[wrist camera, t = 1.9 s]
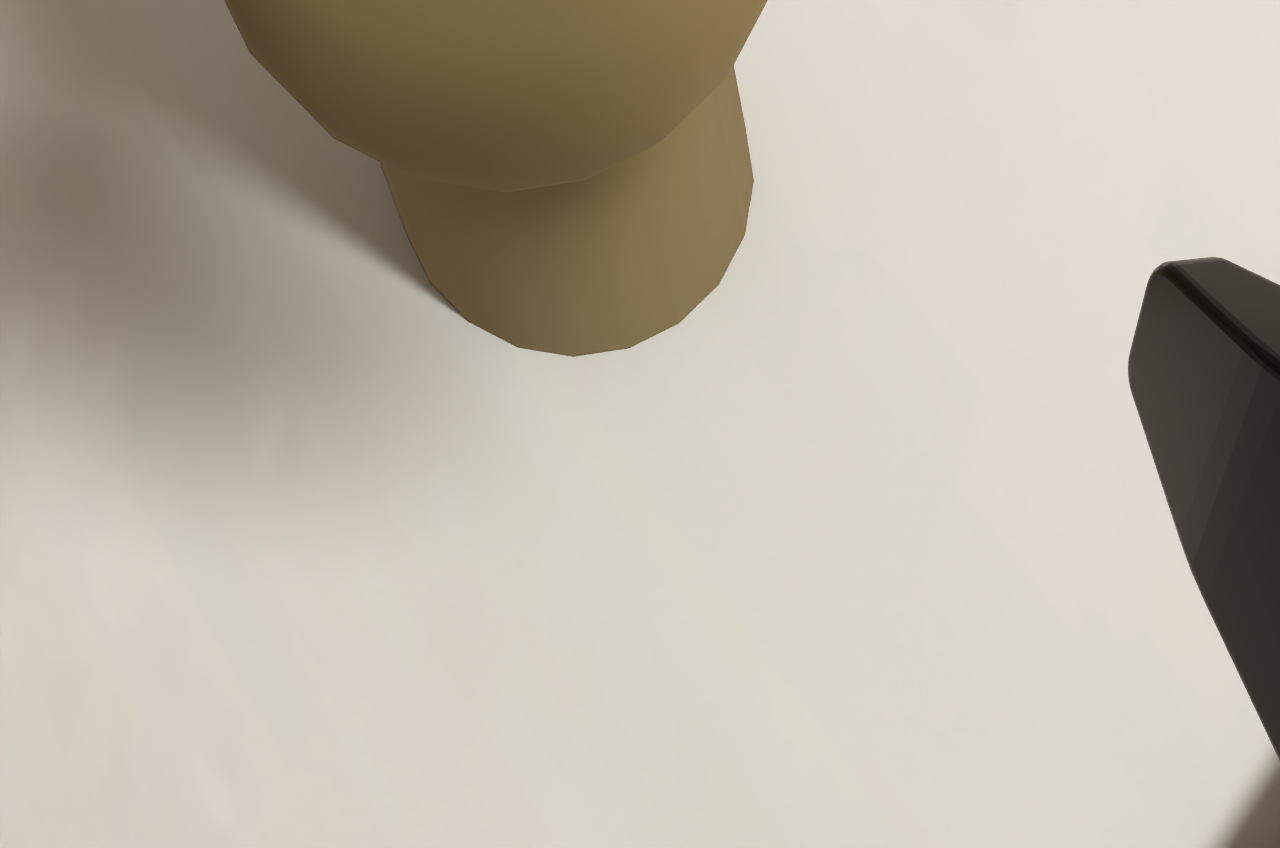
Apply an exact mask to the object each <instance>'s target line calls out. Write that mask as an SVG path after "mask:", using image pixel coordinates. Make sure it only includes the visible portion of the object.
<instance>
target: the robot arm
mask: <svg viewBox="0 0 1280 848" xmlns="http://www.w3.org/2000/svg"><path fill="white" fill-rule="evenodd" d="M1128 376H1129V383H1130V388H1131V392H1132V395H1133V398H1134V401H1135V404H1136V407H1137V410H1138V413H1139V416H1140V420H1141V423H1142V426H1143V429H1144V432H1145V435H1146V438H1147V441H1148V444H1149V447H1150V450H1151V453H1152V456H1153V459H1154V462H1155V465H1156V468H1157V471H1158V474H1159V478H1160V481H1161V484H1162V487H1163V490H1164V493H1165V496H1166V499H1167V502H1168V505H1169V508H1170V511H1171V514H1172V517H1173V520H1174V523H1175V526H1176V529H1177V532H1178V536H1179V539H1180V541H1181V544H1182V547H1183V550H1184V552H1185V555H1186V558H1187V561H1188V563H1189V566H1190V569H1191V571H1192V574H1193V576H1194V578H1195V580H1196V583H1197V585H1198V587H1199V590H1200V592H1201V594H1202V596H1203V599H1204V601H1205V603H1206V605H1207V607H1208V609H1209V611H1210V614H1211V616H1212V618H1213V620H1214V622H1215V624H1216V626H1217V628H1218V630H1219V633H1220V635H1221V637H1222V639H1223V641H1224V643H1225V645H1226V647H1227V650H1228V652H1229V654H1230V656H1231V658H1232V660H1233V662H1234V664H1235V667H1236V669H1237V671H1238V673H1239V675H1240V677H1241V679H1242V681H1243V684H1244V686H1245V688H1246V690H1247V692H1248V694H1249V696H1250V698H1251V701H1252V703H1253V705H1254V707H1255V709H1256V711H1257V713H1258V715H1259V717H1260V720H1261V722H1262V724H1263V726H1264V728H1265V730H1266V732H1267V734H1268V737H1269V739H1270V741H1271V743H1272V745H1273V747H1274V749H1275V751H1276V754H1277V756H1278V758H1279V760H1280V285H1278V284H1276V283H1274V282H1272V281H1270V280H1267V279H1265V278H1263V277H1261V276H1259V275H1257V274H1255V273H1253V272H1251V271H1249V270H1247V269H1244V268H1242V267H1240V266H1238V265H1236V264H1234V263H1232V262H1230V261H1228V260H1225V259H1223V258H1217V257H1209V258H1199V259H1189V260H1180V261H1170V262H1165V263H1163V264H1161V265H1160V266H1158V267H1157V268H1156V269H1155V270H1154V271H1153V273H1152V274H1151V276H1150V278H1149V281H1148V284H1147V287H1146V291H1145V295H1144V299H1143V303H1142V307H1141V311H1140V315H1139V319H1138V323H1137V327H1136V331H1135V335H1134V338H1133V342H1132V346H1131V350H1130V355H1129V362H1128Z"/></svg>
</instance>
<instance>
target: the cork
mask: <svg viewBox="0 0 1280 848" xmlns="http://www.w3.org/2000/svg"><path fill="white" fill-rule="evenodd" d="M225 2H226V4H227V6H228V8H229V10H230V13H231V15H232V17H233V19H234V21H235V23H236V25H237V27H238V29H239V31H240V33H241V35H242V37H243V39H244V41H245V43H246V46H247V48H248V50H249V52H250V53H251V54H252V55H253V56H254V57H255V58H256V59H257V60H258V62H259V63H260V64H261V65H262V66H263V67H264V68H265V69H266V70H267V71H268V72H269V73H270V74H271V75H272V76H273V77H274V78H275V79H276V80H277V81H278V82H279V83H280V84H281V85H282V86H283V87H284V88H285V89H286V90H287V91H288V92H289V93H290V94H291V95H292V96H293V97H294V98H295V99H296V100H297V101H298V102H299V103H300V104H301V105H302V106H303V107H304V108H305V109H306V110H307V111H308V112H309V113H310V114H311V115H312V116H313V117H314V119H315V120H316V121H317V122H318V123H319V124H320V125H321V126H322V127H323V128H324V129H325V130H326V131H327V132H328V133H329V134H330V135H331V136H332V137H333V138H335V139H337V140H339V141H341V142H343V143H345V144H347V145H349V146H351V147H353V148H355V149H356V150H358V151H360V152H362V153H364V154H366V155H368V156H370V157H372V158H374V159H376V160H378V161H379V162H380V164H381V167H382V170H383V172H384V175H385V178H386V180H387V183H388V186H389V188H390V191H391V194H392V196H393V199H394V202H395V204H396V207H397V210H398V212H399V215H400V218H401V221H402V223H403V226H404V229H405V231H406V234H407V236H408V238H409V240H410V242H411V244H412V246H413V248H414V250H415V252H416V254H417V256H418V258H419V260H420V262H421V264H422V266H423V268H424V271H425V273H426V275H427V277H428V279H429V281H430V283H431V284H432V285H433V286H434V287H435V288H436V289H437V290H438V291H439V292H440V293H441V294H442V295H443V296H444V297H445V298H446V299H447V300H448V301H449V302H450V303H451V304H452V305H453V306H454V307H455V308H456V309H457V310H458V311H459V312H460V313H461V314H462V315H463V316H464V317H465V318H466V319H467V320H468V321H469V322H470V323H472V324H474V325H476V326H478V327H480V328H482V329H484V330H486V331H487V332H489V333H491V334H493V335H495V336H497V337H499V338H501V339H503V340H505V341H507V342H509V343H511V344H513V345H514V346H516V347H519V348H525V349H531V350H537V351H543V352H549V353H555V354H561V355H567V356H573V357H574V356H580V355H587V354H594V353H600V352H607V351H613V350H620V349H627V348H630V347H632V346H634V345H636V344H638V343H640V342H642V341H644V340H646V339H648V338H650V337H652V336H654V335H656V334H658V333H660V332H662V331H664V330H666V329H668V328H670V327H672V326H674V325H676V324H678V323H680V322H681V321H682V320H683V319H684V318H685V317H686V316H687V315H688V314H689V313H690V312H691V311H692V310H693V309H694V308H695V307H696V306H697V305H698V304H699V303H700V302H701V301H702V300H703V299H704V298H705V297H706V296H707V295H708V294H709V293H710V292H711V291H713V290H714V289H715V288H716V287H717V286H718V285H719V283H720V281H721V279H722V277H723V276H724V274H725V272H726V270H727V268H728V266H729V264H730V262H731V260H732V258H733V256H734V254H735V253H736V251H737V249H738V247H739V245H740V243H741V241H742V239H743V237H744V235H745V230H746V224H747V218H748V212H749V206H750V200H751V194H752V188H753V181H754V180H753V173H752V167H751V161H750V154H749V148H748V142H747V135H746V129H745V123H744V118H743V113H742V107H741V102H740V97H739V92H738V86H737V81H736V76H735V71H734V63H735V61H736V59H737V57H738V55H739V54H740V52H741V50H742V48H743V46H744V44H745V42H746V40H747V38H748V36H749V35H750V33H751V31H752V29H753V27H754V25H755V23H756V21H757V19H758V17H759V16H760V14H761V12H762V10H763V8H764V6H765V4H766V2H767V0H225Z"/></svg>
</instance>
